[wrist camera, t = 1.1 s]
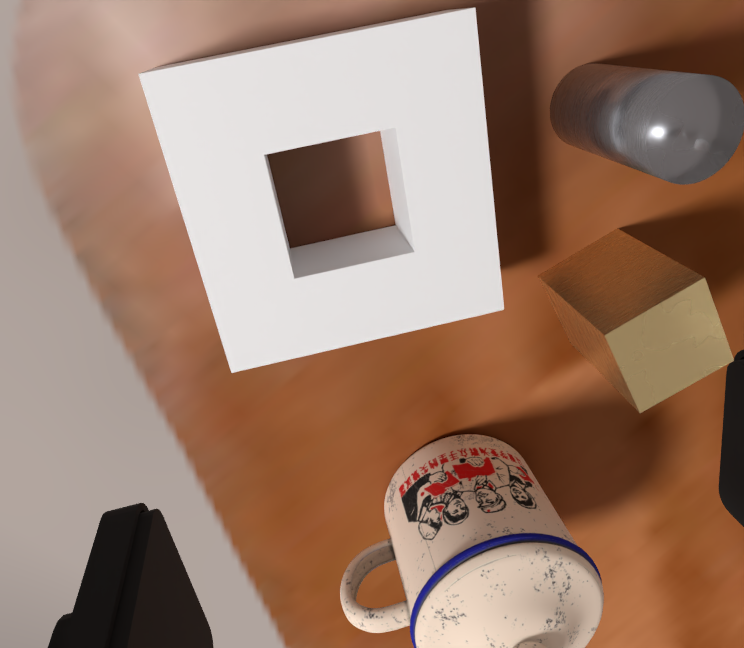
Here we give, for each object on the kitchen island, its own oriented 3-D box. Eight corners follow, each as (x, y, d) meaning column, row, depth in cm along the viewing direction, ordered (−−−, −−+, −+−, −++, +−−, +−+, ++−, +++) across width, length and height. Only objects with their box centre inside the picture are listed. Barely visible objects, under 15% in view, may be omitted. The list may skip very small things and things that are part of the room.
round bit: (625, 55, 29) (748, 65, 22) (625, 138, 30) (740, 172, 23) (547, 72, 28) (646, 86, 21) (552, 154, 30) (645, 194, 23)
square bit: (617, 228, 32) (705, 277, 26) (645, 298, 34) (734, 360, 28) (537, 275, 33) (604, 335, 26) (570, 342, 34) (640, 413, 28)
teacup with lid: (523, 408, 36) (634, 566, 25) (539, 531, 40) (641, 712, 29) (310, 467, 35) (334, 654, 25) (348, 586, 39) (382, 791, 29)
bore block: (445, 10, 27) (475, 7, 23) (476, 277, 32) (504, 309, 28) (154, 67, 26) (138, 73, 22) (234, 333, 31) (231, 372, 28)
